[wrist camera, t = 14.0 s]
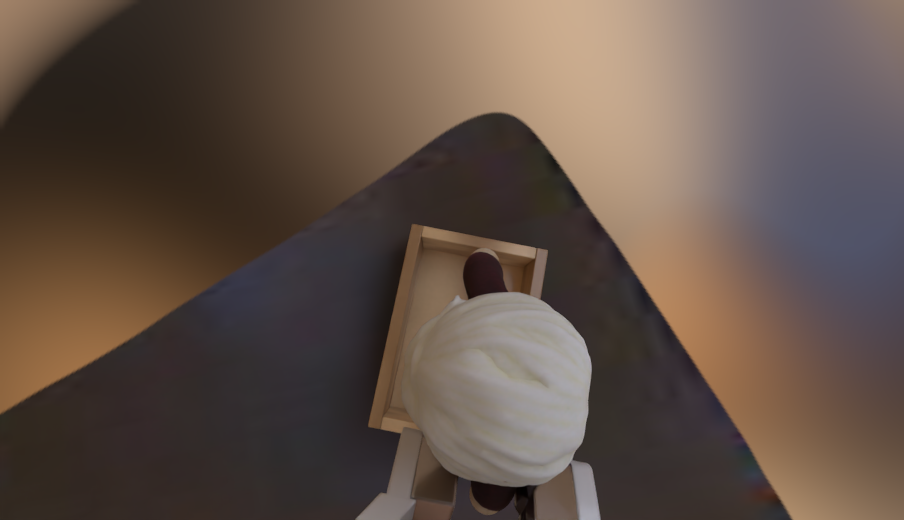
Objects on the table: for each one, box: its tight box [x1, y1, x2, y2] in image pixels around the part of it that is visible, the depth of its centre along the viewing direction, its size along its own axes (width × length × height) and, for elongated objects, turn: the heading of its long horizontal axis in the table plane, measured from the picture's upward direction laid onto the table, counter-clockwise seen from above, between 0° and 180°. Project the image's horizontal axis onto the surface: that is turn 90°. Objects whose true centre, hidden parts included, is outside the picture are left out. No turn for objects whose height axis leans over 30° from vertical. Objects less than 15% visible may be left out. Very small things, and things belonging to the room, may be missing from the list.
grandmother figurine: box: [401, 248, 592, 515], centre depth 12 cm, size 8×4×13 cm, turn 12°
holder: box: [368, 224, 548, 436], centre depth 30 cm, size 10×14×5 cm
